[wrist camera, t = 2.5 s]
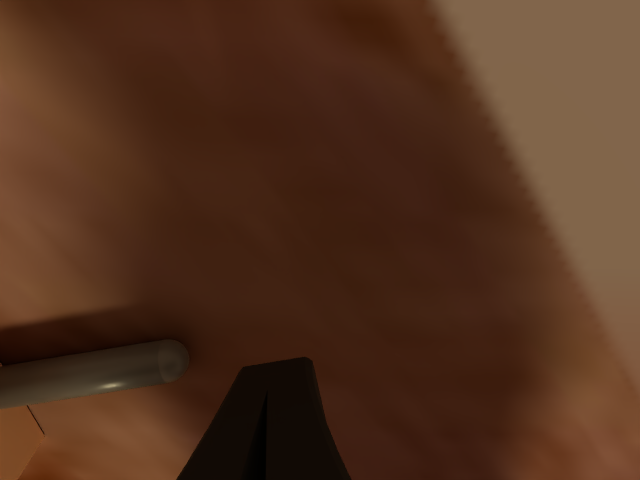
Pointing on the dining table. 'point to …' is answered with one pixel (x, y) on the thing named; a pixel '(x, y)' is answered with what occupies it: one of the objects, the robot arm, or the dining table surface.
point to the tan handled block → (75, 388)
